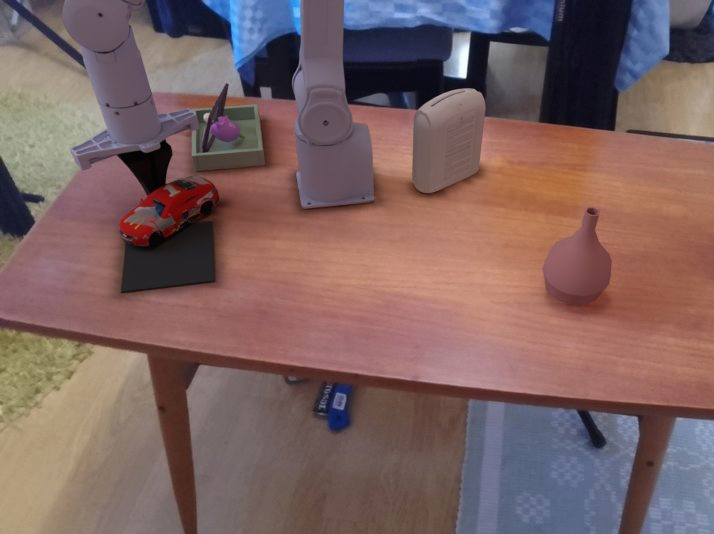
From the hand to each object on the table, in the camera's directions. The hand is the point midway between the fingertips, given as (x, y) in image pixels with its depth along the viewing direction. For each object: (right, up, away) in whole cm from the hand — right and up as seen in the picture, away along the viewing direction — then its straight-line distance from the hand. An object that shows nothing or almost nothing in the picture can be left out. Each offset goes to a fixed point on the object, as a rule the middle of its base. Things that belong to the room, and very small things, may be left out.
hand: (156, 196), depth 86 cm
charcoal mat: (+4, -8, -5) cm, 11 cm away
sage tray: (+6, +10, +11) cm, 16 cm away
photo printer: (+36, +4, +8) cm, 38 cm away
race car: (+3, -4, -1) cm, 5 cm away
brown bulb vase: (+51, -13, -6) cm, 53 cm away
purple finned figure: (+5, +10, +11) cm, 16 cm away
